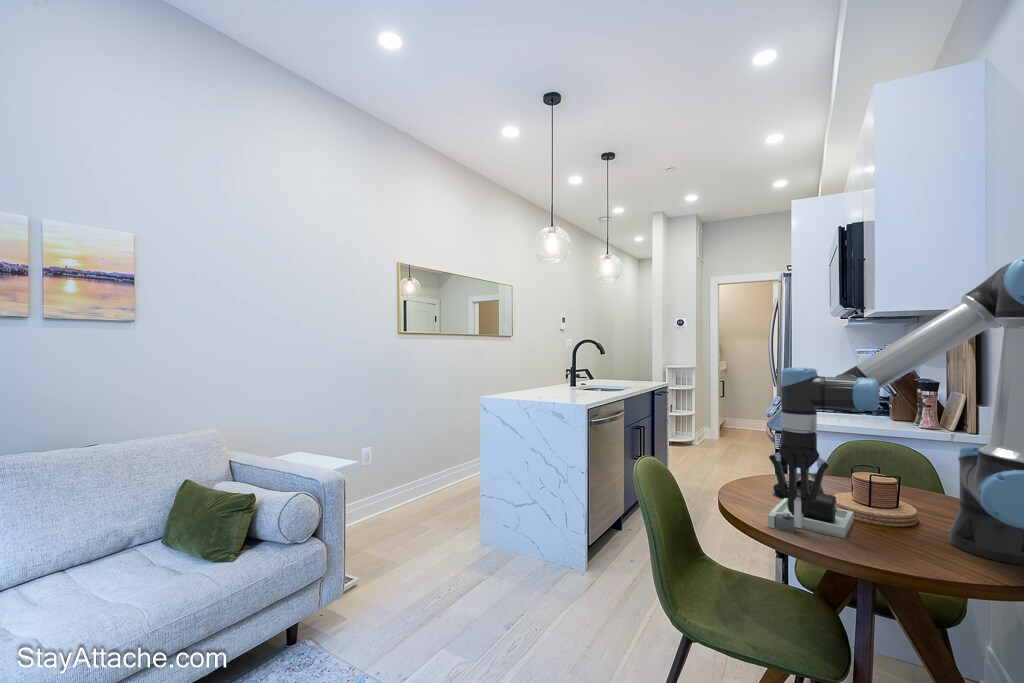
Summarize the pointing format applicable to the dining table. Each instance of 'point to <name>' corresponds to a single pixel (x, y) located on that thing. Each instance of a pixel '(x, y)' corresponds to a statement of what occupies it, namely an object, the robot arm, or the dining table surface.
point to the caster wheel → (798, 485)
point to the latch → (785, 523)
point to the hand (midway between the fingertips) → (798, 525)
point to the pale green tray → (835, 529)
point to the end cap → (820, 508)
